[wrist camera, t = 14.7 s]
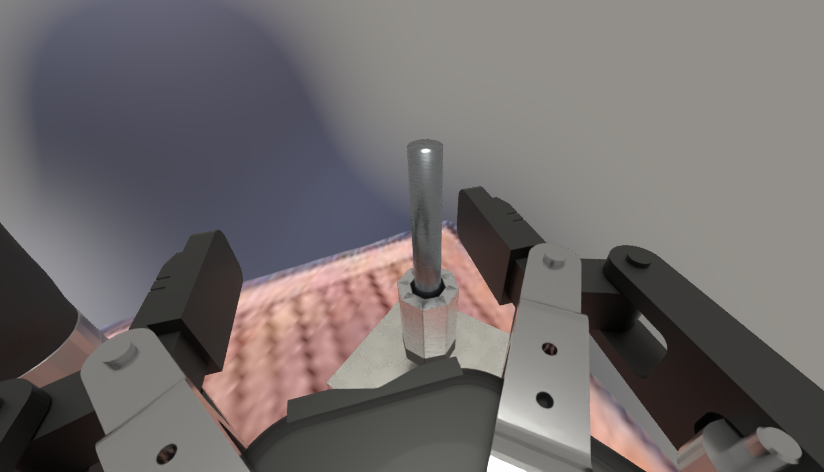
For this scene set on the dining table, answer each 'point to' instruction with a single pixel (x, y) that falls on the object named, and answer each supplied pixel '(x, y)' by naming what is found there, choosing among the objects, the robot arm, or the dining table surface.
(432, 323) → the metal sleeve
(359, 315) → the dining table surface
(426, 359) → the black hex nut
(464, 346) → the pipe stand
